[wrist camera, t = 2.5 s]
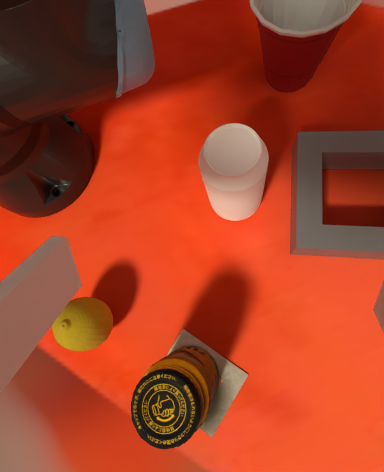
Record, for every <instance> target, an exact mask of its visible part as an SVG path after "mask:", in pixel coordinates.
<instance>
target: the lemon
mask: <svg viewBox="0 0 384 472" xmlns="http://www.w3.org/2000/svg"><path fill="white" fill-rule="evenodd" d="M112 327H113V315H112V312H111V310H110V309H109V307H108V306H107V305H106V304H105V303H104V302H103V301H101V300H99V299H96V298H92V297H81V298H76V299H74V300H71V301H70V302H69V303H68V304H67V306H66V307H65V308H64V310H63V311H62V312H61V314H60V315H59V316H58V318H57V319H56V320H55V322H54V323H53V325H52V330H53V335H54V337H55V339H56V341H57V342H58V343H59V344H60V345H61V346H63V347H64V348H66V349H69V350H73V351H87V350H91V349H94V348H96V347H97V346H99V345H101V344H102V343H103V342H104V341H105V340H106V339H107V338H108V336H109V335H110V333H111V330H112Z"/></svg>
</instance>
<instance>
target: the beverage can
mask: <svg viewBox="0 0 384 472" xmlns="http://www.w3.org/2000/svg"><path fill="white" fill-rule="evenodd" d="M268 161H269V156H268V150H267V147H266V145H265V143H264V142H263V140H262V139H261V138H260V137H259V135H258V134H257V133H256V132H255V131H254V130H253V129H252V128H250V127H249V126H247V125H244V124H240V123H229V124H225V125H222V126H220V127H218V128H216V129H215V130H214V131H213V132H211V134H210V135H209V136H208V137H207V139H206V141H205V144H204V145H203V147H202V149H201V151H200V155H199V169H200V172H201V175H202V178H203V182H204V185H205V188H206V191H207V194H208V197H209V200H210V203H211V206H212V208H213V209H214V211H215V212H216V213H217V214H218V215H219V216H221V217H222V218H224V219H227V220H232V221H239V220H243V219H246V218H248V217H250V216H251V215H253V214H254V213H255V212H256V210H257V209H258V208H259V206H260V203H261V200H262V195H263V190H264V184H265V179H266V173H267V167H268Z"/></svg>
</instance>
